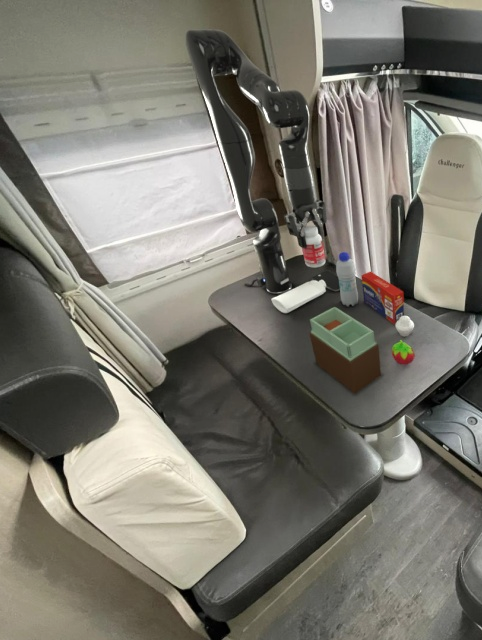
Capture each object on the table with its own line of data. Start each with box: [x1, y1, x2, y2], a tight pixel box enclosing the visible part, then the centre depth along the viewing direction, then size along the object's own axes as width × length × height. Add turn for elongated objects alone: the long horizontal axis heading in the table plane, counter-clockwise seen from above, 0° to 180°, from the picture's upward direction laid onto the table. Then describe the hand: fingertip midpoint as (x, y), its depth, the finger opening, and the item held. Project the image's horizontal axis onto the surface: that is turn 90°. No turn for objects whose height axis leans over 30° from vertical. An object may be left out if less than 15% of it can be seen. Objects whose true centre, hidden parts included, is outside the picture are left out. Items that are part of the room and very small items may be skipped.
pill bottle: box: [301, 225, 326, 269], centre depth 108 cm, size 6×6×11 cm
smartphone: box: [311, 271, 340, 292], centre depth 145 cm, size 8×1×15 cm
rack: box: [308, 306, 382, 395], centre depth 103 cm, size 18×10×17 cm, turn 47°
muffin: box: [394, 315, 415, 337], centre depth 119 cm, size 6×6×7 cm
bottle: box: [335, 251, 359, 307], centre depth 128 cm, size 7×7×20 cm
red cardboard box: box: [361, 271, 405, 326], centre depth 127 cm, size 18×4×12 cm, turn 42°
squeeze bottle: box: [270, 280, 327, 314], centre depth 134 cm, size 10×20×5 cm, turn 139°
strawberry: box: [391, 339, 415, 366], centre depth 107 cm, size 6×7×10 cm
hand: (311, 242), depth 108 cm, fingers closed on pill bottle, 6 cm apart
